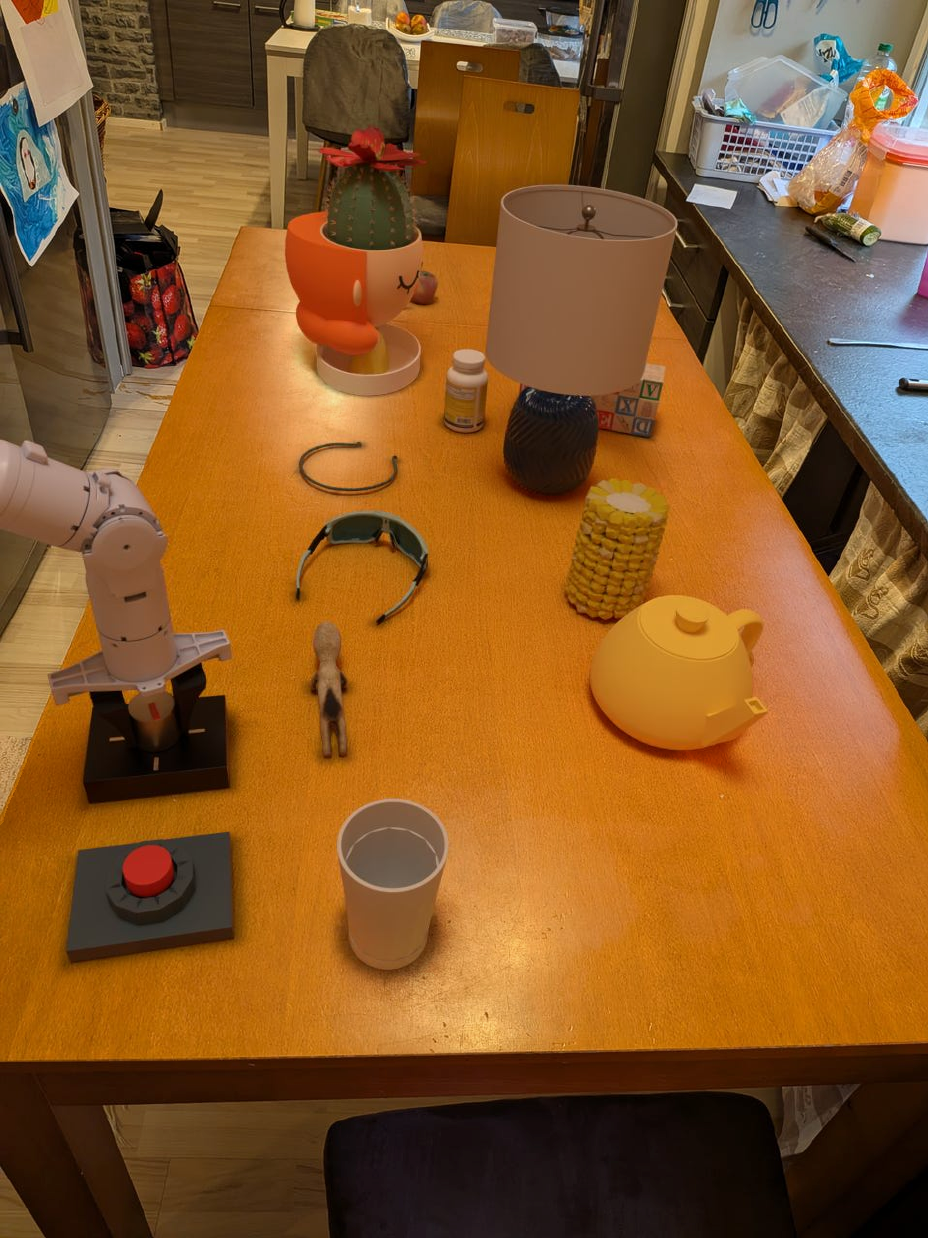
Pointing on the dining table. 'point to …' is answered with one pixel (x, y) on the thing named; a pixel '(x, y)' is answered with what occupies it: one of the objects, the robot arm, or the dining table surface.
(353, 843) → the cup
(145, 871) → the switch button
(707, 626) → the teapot
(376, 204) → the potted cactus
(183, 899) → the switch block
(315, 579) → the dining table surface
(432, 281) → the apple
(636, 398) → the stack of blocks
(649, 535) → the food
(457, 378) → the pill bottle
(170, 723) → the dimmer knob
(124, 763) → the dimmer panel
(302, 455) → the black headband
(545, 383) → the lamp
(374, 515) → the sunglasses
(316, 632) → the figurine
